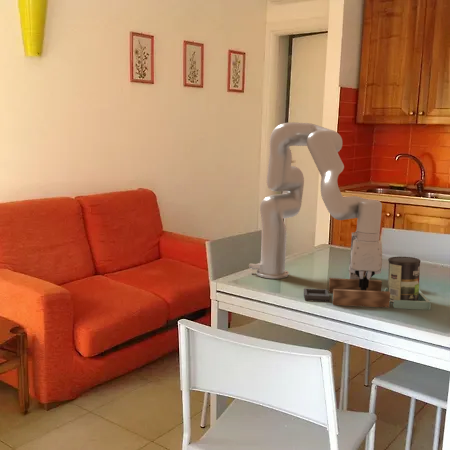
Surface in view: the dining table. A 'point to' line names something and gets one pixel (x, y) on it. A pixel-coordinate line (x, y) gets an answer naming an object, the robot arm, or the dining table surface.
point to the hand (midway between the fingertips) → (363, 289)
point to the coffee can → (403, 278)
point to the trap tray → (316, 294)
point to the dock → (413, 303)
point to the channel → (358, 293)
